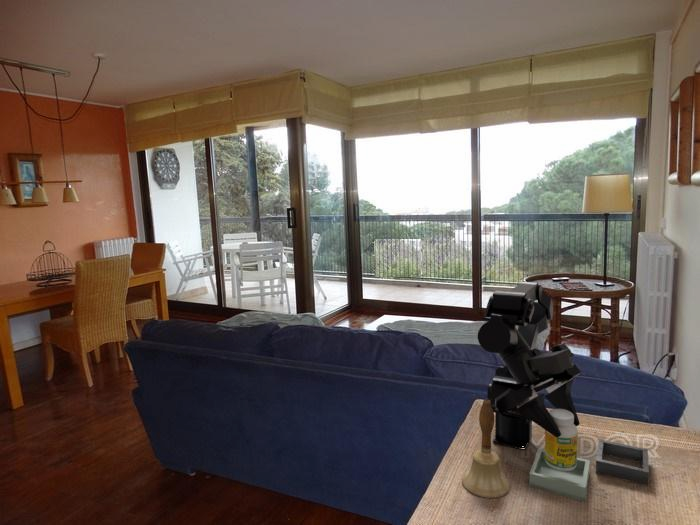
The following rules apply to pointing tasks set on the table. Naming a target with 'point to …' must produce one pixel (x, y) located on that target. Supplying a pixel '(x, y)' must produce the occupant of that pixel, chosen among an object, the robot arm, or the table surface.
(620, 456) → the collar
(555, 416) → the supplement bottle
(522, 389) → the robot arm
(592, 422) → the table surface
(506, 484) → the hand bell
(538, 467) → the tray
